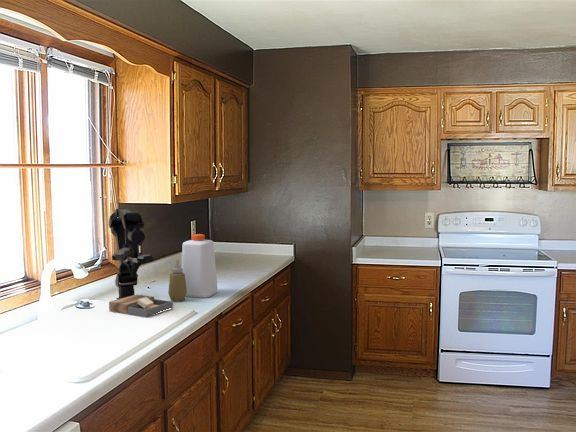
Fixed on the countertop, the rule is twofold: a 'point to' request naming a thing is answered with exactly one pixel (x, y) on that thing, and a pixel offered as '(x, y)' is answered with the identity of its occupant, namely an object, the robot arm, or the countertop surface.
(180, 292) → the squeeze bottle
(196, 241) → the plastic bottle
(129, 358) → the countertop surface
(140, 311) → the charcoal bin
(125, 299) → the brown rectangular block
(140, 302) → the cream block
